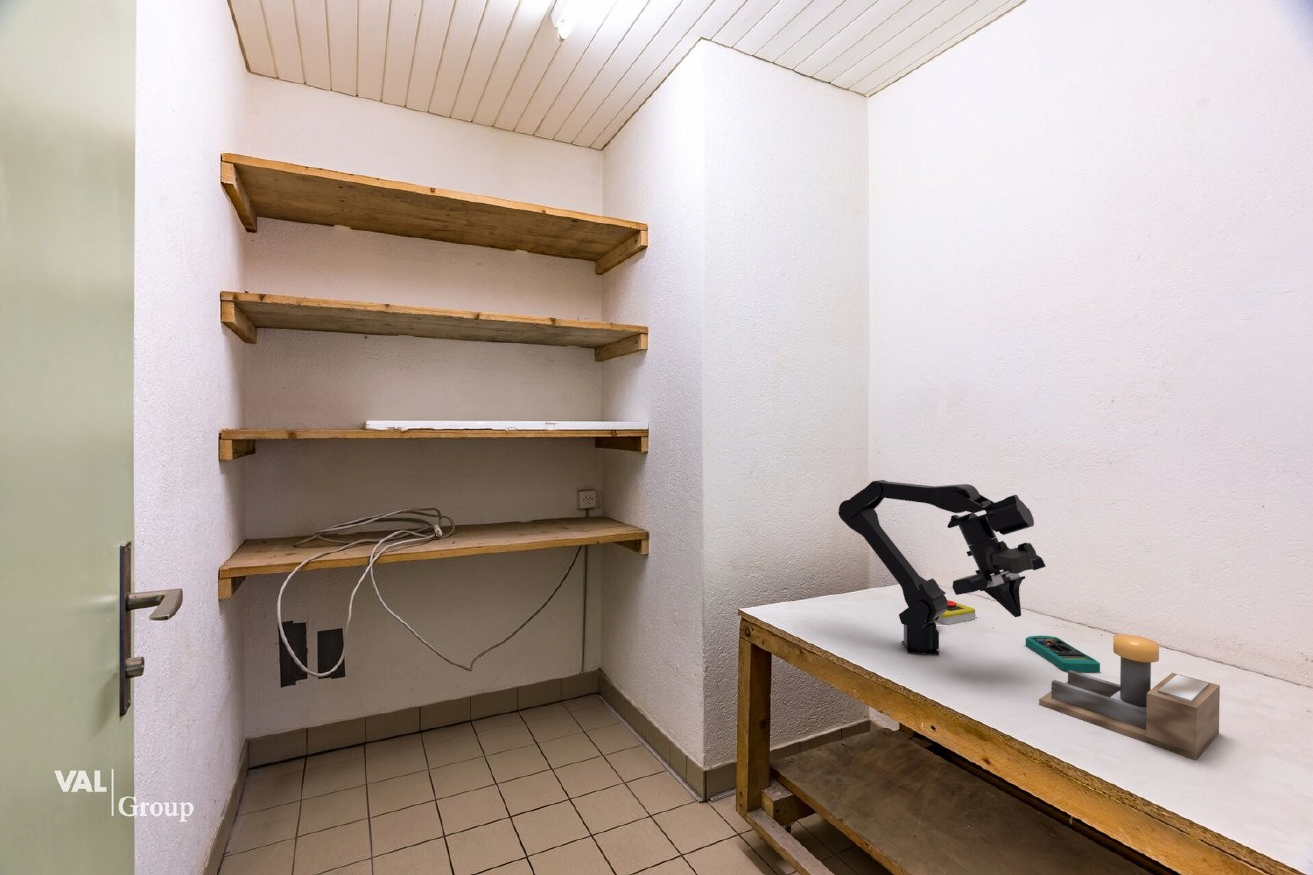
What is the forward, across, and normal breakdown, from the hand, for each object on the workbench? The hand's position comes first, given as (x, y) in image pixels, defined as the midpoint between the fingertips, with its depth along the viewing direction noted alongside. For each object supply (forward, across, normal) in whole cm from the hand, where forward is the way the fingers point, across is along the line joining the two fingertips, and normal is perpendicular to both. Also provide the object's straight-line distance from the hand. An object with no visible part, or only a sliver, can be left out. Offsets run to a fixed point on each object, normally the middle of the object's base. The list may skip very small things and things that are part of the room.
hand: (1018, 616), depth 116 cm
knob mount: (+19, +1, -11) cm, 22 cm away
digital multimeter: (+13, +14, +11) cm, 22 cm away
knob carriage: (+18, +2, -13) cm, 23 cm away
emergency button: (+1, +10, +37) cm, 39 cm away
